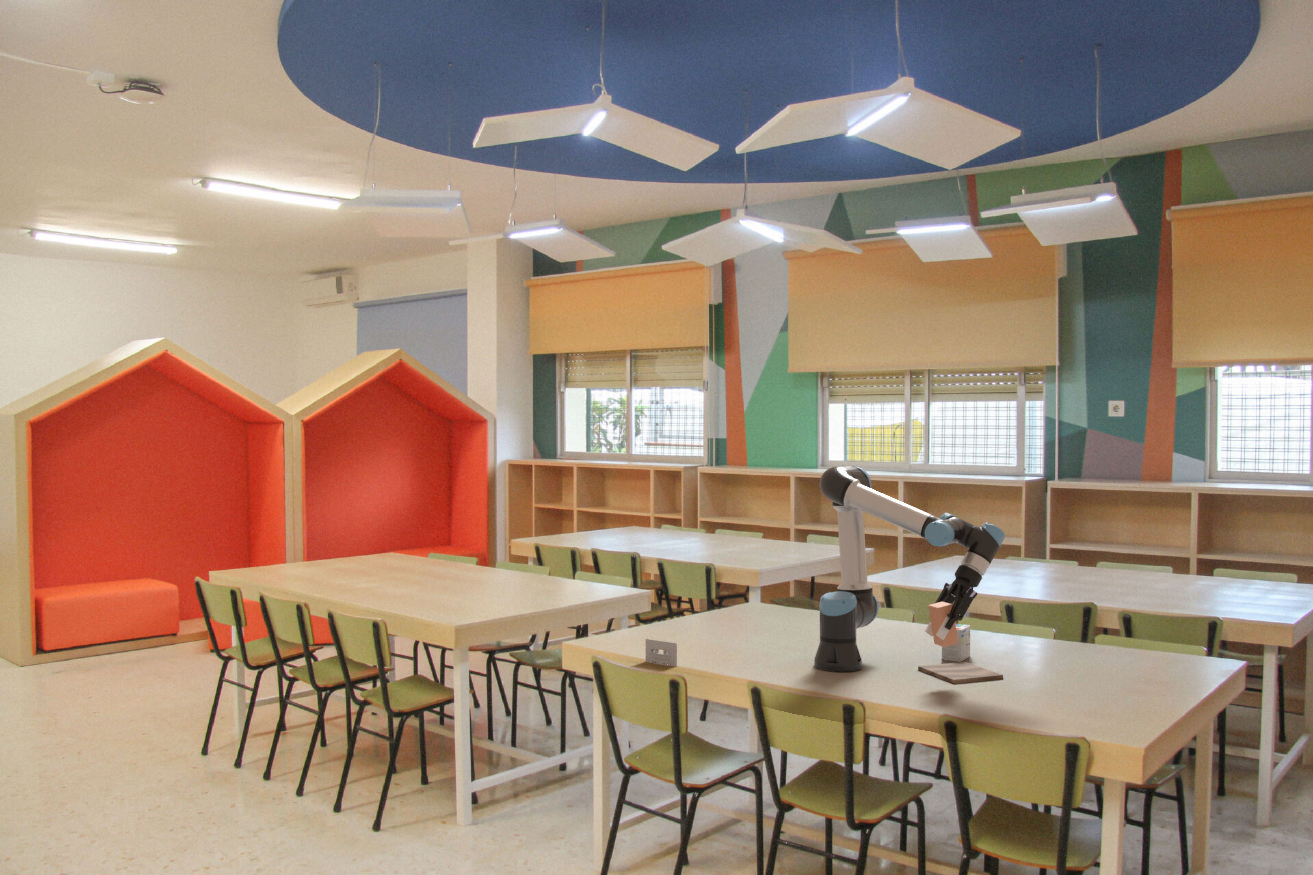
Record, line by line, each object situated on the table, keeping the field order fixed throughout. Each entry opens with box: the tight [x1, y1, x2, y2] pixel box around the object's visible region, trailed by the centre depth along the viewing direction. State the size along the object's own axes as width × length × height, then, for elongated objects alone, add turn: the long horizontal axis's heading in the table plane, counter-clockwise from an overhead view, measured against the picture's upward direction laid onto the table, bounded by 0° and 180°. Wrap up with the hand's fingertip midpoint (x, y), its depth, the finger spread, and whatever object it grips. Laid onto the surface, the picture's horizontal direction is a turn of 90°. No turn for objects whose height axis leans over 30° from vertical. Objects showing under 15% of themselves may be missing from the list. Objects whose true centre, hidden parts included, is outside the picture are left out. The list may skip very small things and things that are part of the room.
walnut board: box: [917, 661, 1004, 685], centre depth 286 cm, size 18×18×1 cm
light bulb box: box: [941, 623, 971, 663], centre depth 308 cm, size 11×7×11 cm, turn 145°
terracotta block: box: [927, 602, 958, 648], centre depth 276 cm, size 5×5×12 cm
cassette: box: [645, 638, 678, 668], centre depth 299 cm, size 12×2×8 cm, turn 55°
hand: (934, 635), depth 275 cm, fingers closed on terracotta block, 5 cm apart
